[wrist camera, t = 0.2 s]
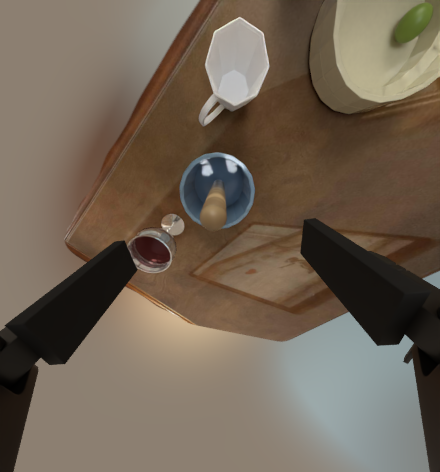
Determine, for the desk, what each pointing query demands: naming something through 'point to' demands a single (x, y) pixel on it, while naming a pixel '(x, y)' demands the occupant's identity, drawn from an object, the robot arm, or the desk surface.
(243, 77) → the cup
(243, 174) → the utensil pot
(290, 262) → the desk surface
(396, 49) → the bowl
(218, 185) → the stick
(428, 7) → the olive
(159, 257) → the wineglass
